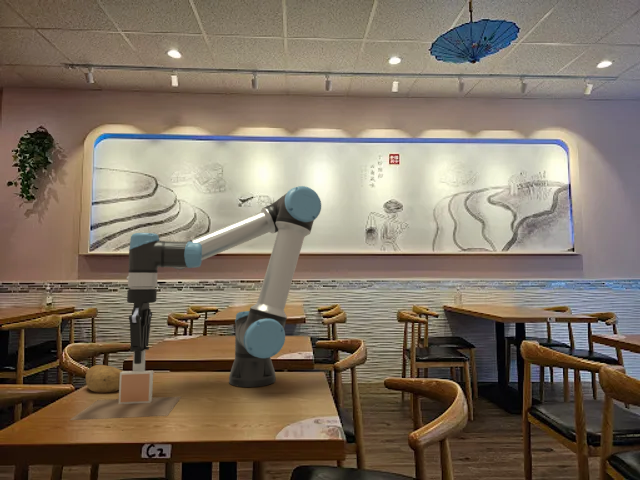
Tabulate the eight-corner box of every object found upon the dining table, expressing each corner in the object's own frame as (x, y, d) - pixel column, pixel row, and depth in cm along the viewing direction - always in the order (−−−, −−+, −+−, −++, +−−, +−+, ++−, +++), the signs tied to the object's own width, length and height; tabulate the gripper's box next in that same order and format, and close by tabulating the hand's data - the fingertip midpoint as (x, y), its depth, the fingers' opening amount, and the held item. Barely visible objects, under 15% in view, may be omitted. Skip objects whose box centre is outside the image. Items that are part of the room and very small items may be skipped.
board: (181, 400, 113) (181, 396, 113) (167, 420, 97) (167, 415, 97) (97, 404, 110) (97, 399, 110) (69, 425, 94) (69, 419, 94)
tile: (151, 401, 109) (153, 370, 110) (150, 402, 107) (151, 371, 108) (120, 402, 108) (121, 371, 109) (118, 404, 106) (119, 372, 107)
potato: (102, 401, 113) (103, 372, 114) (76, 394, 120) (77, 366, 121) (134, 393, 121) (135, 365, 122) (108, 386, 128) (109, 361, 129)
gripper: (136, 287, 119) (132, 370, 117) (119, 288, 106) (115, 381, 104) (162, 287, 120) (159, 369, 118) (149, 288, 107) (145, 380, 105)
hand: (138, 375), depth 111 cm, fingers closed
